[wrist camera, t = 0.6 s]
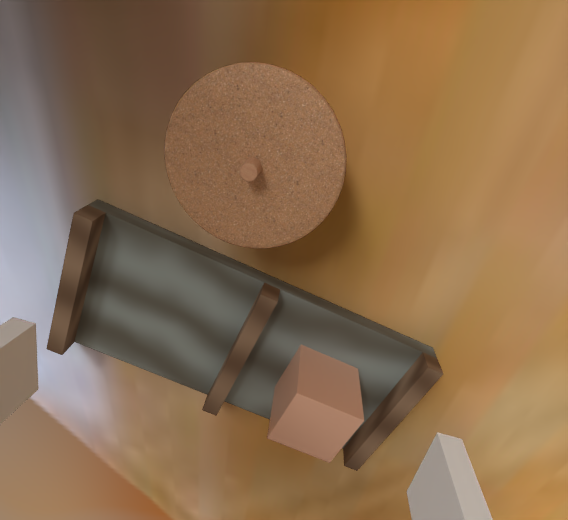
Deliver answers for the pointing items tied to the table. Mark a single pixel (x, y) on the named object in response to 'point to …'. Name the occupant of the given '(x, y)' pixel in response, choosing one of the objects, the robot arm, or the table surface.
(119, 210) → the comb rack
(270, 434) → the terracotta block
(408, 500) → the robot arm
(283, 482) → the table surface
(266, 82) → the lidded jar
